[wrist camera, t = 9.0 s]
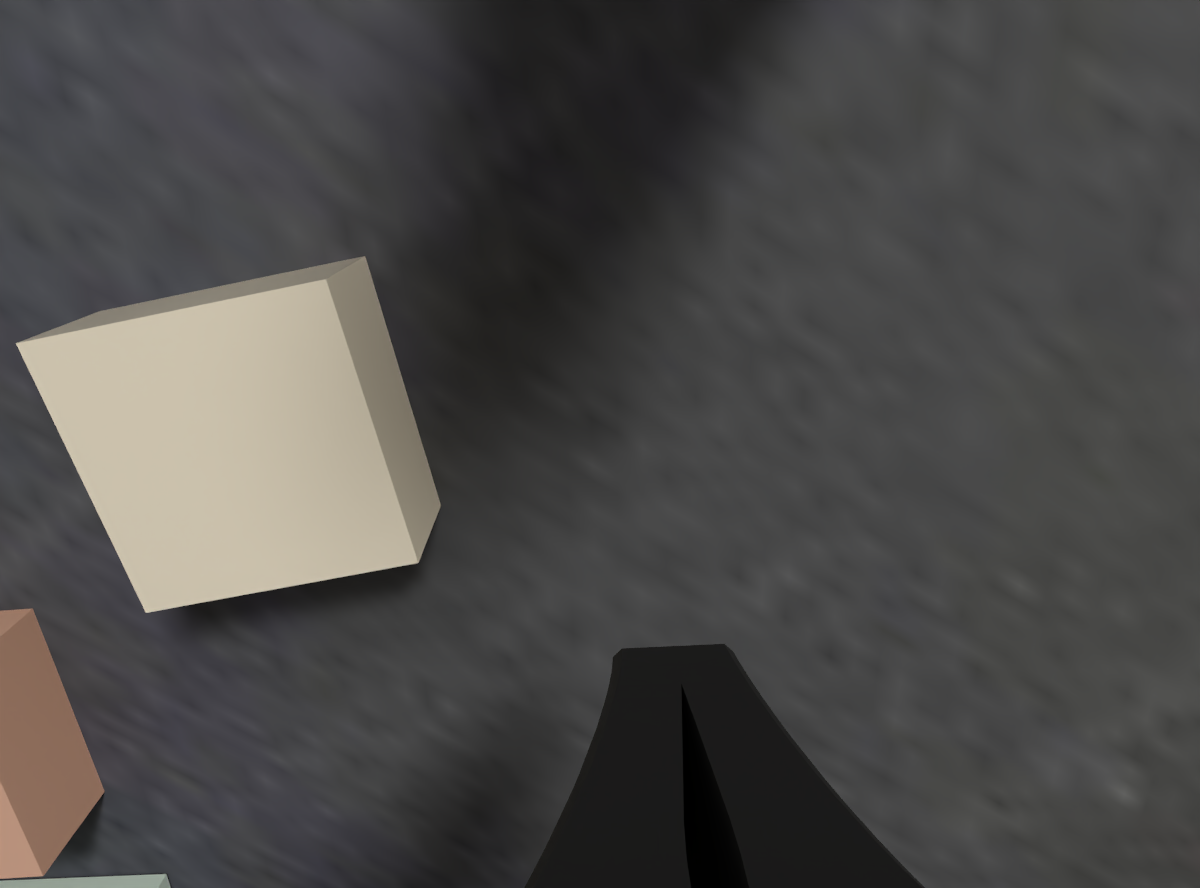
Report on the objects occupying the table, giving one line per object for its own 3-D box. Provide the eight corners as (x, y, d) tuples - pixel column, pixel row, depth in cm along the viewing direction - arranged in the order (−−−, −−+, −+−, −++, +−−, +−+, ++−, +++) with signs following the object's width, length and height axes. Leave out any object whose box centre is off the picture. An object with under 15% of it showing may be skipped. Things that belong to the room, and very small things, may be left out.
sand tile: (443, 499, 20) (418, 563, 17) (208, 544, 20) (146, 612, 17) (368, 253, 17) (325, 279, 15) (106, 308, 18) (15, 343, 15)
